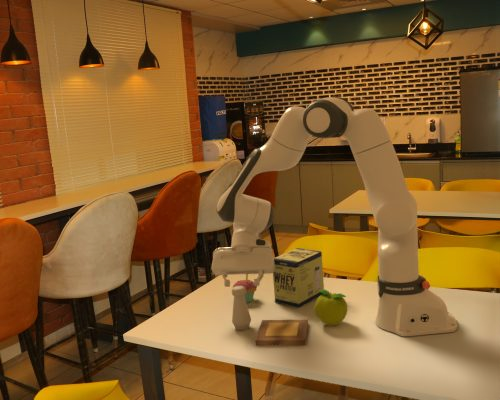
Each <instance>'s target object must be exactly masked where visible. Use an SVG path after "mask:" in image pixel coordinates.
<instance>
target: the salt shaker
mask: <svg viewBox="0 0 500 400" xmlns="http://www.w3.org/2000/svg"><path fill="white" fill-rule="evenodd" d="M245 294H246V289H245V287H243V286H236V287H233V286H232V288H231V295H232V296H233V305H232V319H231V322H232V324H233V326H234V328H235V330H236V331H245V330H248V329H249V327H250V325H251V323H252V318H251V314H250V310H249V308H248V304H247V302H246V300H245V296H244V295H245Z"/></svg>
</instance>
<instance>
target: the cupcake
mask: <svg viewBox="0 0 500 400" xmlns="http://www.w3.org/2000/svg"><path fill="white" fill-rule="evenodd" d="M236 286H243V287H245V289H246V294H245V295H244V296H245V300H246V303H250V302H252V301H253V300H254V296H255V292H256V291H257V288H258V286H255V285H254V280H253V281H252V280H251V279H249V274H245V279H243V280H242V279H241V280H237V281H236V282H235V283H234V284H233V285H232V288H233V287H236Z"/></svg>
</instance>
